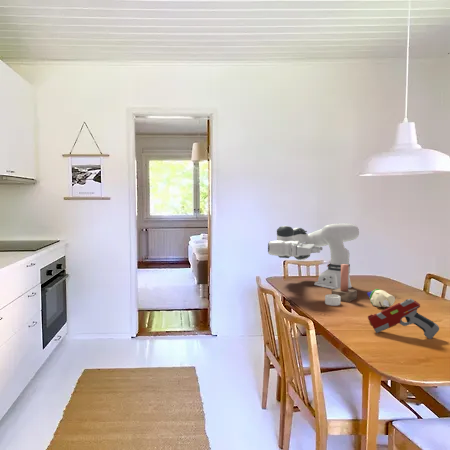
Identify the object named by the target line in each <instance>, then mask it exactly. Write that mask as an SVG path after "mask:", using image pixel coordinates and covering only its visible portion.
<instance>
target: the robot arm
mask: <svg viewBox="0 0 450 450" xmlns="http://www.w3.org/2000/svg"><path fill="white" fill-rule="evenodd" d="M307 232H308V231H307V230H305V229H304V228H302V227H294V228H293V227H291V226H289V225H281V226H279V227H278V228H277V229H276V240H270V241H268V242H267V243H268V244H267V252H268V255H271V256H276V257H278V258H280V259H281V258H282V259H289V258H291V257H293V258H294V259H296V260H298V261H305V260H308V259H309V258H310V257H311V254H316V253H320V252H321V251H323V247H325V246H329V251H330V252H329V253H330V263H328V264H327V265H326V267H327V269H326V270H324V271H323V272H322V273H320V274H319V275H318V278H317V281H315V282H314V286H318V287H323V288H326V289H332V290H335V289H337V288H340V287H341V264H348V265H349V274H348V289H351V288H352V283H351V279H350V278H351V276H350V272H351V264H350V251H349V250H348V248H346V247H345V245H344V243H346V242H351V241H354V240H356V239H357V238H358V237H359V235H360V230H359V227H358V226H357V225H356V224H353V223H347V222H346V223H345V222H344V223H330V224H326V225H324V226H323V227H322V228H321V229H317V230H314V231H313V232H310V233H307Z"/></svg>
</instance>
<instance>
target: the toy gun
mask: <svg viewBox="0 0 450 450" xmlns="http://www.w3.org/2000/svg"><path fill="white" fill-rule="evenodd" d="M419 308H421V304H420V303H419V302H418V301H416V300H414V299H412V298H408V299H405V300H404V301H402V302H398V303H396V304H393V305H392V306H389V307H387V308H385V309H383V310H381V311H380V312H377V313H374V314H372V313H371V314H370V315H368V316H367V319H368V323H369V325H370V326H371V327H372V328H373V330H374V332H375V333H376V334H378V333H380V332H383V331H385V330H388V329H390V328H393V327H395V326H397V325H401V326H403V327H407V326H409V325H415V326H416V327H418V328H419V329H420V330H422V332H423V335H424V337H426V338H427V339H429V340H432V339H433V337H434V336H435V335H436V334H437V333H438V332H439V330H440V326H439V325H438V324H437V323H435V322H434V321H432V320H431V319H429V318H427V317H426V316H424V315H422V314H420V313H418V309H419ZM403 318H405V320H406V321H403Z"/></svg>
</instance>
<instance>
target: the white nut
mask: <svg viewBox="0 0 450 450" xmlns="http://www.w3.org/2000/svg"><path fill="white" fill-rule="evenodd" d="M341 302H342V301H341V296H339V295H335V294H332V293H331V294H326V295H324V304H325V305H327V306H334V307H335V306H340V305H341Z"/></svg>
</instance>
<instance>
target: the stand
mask: <svg viewBox="0 0 450 450" xmlns="http://www.w3.org/2000/svg"><path fill="white" fill-rule="evenodd" d="M331 294H335V295H339V296H341V302H346V303H347V302H348V303H350V302H352V301H354V300H356V299H357V298H358V290H357V289H353V288H352V289H351V288H348V291H341V290H340V288H337V289H332V290H331Z"/></svg>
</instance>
